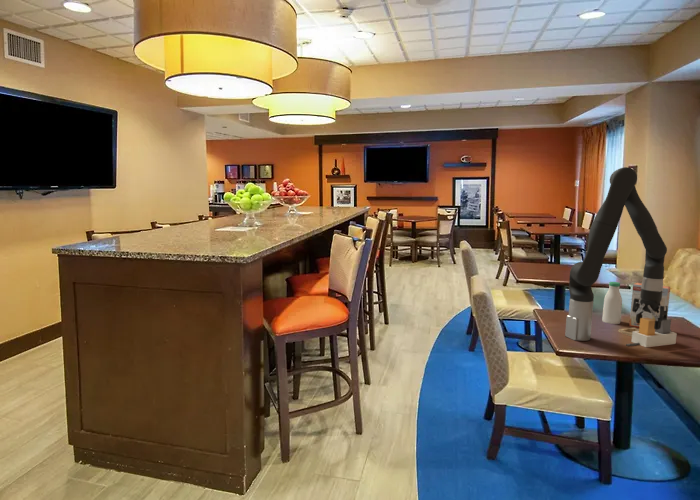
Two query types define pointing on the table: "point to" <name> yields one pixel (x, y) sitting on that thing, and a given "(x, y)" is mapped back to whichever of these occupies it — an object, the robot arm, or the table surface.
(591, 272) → the robot arm
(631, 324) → the cracker box
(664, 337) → the strip
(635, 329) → the tray
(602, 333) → the table surface
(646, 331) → the plug
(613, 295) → the milk bottle
